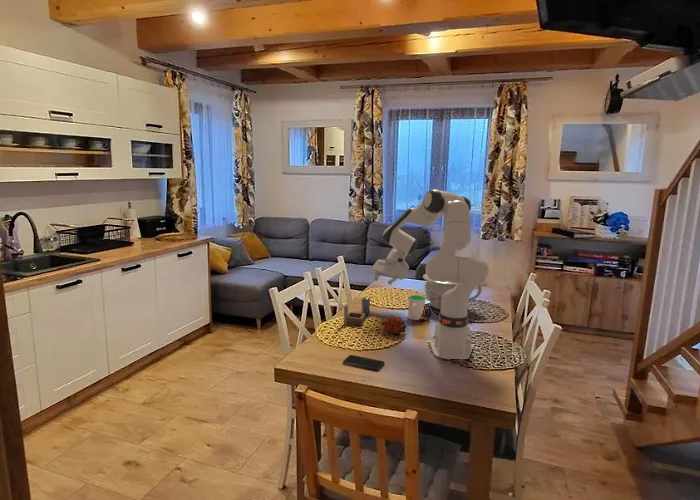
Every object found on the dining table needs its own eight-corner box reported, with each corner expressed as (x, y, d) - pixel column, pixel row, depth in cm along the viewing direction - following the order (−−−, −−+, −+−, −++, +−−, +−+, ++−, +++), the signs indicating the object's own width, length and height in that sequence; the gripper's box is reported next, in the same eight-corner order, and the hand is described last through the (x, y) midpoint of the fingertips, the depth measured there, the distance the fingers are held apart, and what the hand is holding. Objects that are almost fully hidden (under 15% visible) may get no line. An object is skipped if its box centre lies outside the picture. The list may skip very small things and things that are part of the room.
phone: (378, 369, 169) (342, 361, 175) (378, 372, 169) (341, 364, 175) (385, 361, 176) (350, 354, 182) (385, 364, 176) (350, 356, 182)
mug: (421, 323, 221) (422, 303, 219) (405, 321, 224) (406, 301, 222) (425, 315, 232) (426, 296, 230) (409, 313, 235) (410, 294, 233)
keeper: (361, 327, 214) (361, 307, 212) (343, 325, 216) (343, 305, 214) (365, 320, 224) (365, 300, 222) (348, 318, 226) (348, 299, 224)
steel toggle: (368, 317, 228) (369, 300, 226) (360, 316, 229) (361, 299, 227) (370, 314, 232) (370, 297, 230) (362, 313, 233) (362, 297, 231)
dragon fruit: (407, 339, 204) (382, 338, 210) (411, 324, 210) (387, 323, 215) (401, 328, 199) (376, 327, 205) (406, 313, 204) (381, 312, 210)
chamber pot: (411, 302, 253) (413, 266, 249) (451, 297, 265) (453, 263, 261) (441, 318, 229) (443, 279, 225) (483, 312, 240) (487, 274, 236)
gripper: (376, 254, 247) (364, 275, 241) (407, 260, 233) (394, 282, 228) (381, 261, 251) (369, 281, 245) (411, 268, 237) (399, 289, 232)
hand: (381, 282), depth 236 cm, fingers open, 8 cm apart
